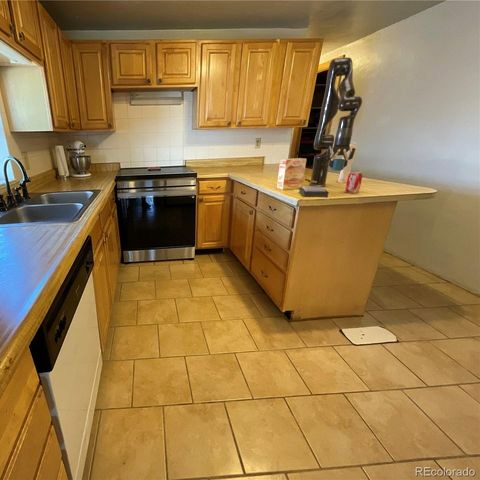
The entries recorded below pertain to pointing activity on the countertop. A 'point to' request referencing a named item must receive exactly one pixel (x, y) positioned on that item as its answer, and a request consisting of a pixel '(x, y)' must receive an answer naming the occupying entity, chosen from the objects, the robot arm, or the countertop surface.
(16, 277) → the countertop surface
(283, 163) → the coffeecake box
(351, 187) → the soda can
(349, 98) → the robot arm
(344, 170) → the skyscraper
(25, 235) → the countertop surface
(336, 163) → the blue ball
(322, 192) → the scale
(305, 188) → the scale pan
